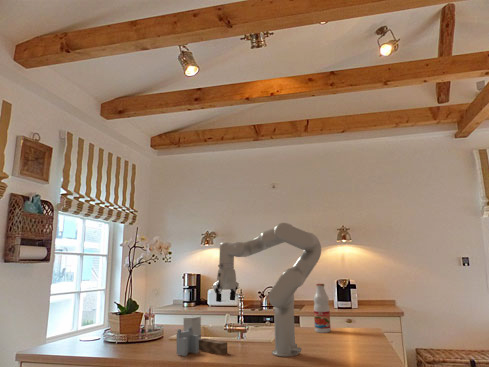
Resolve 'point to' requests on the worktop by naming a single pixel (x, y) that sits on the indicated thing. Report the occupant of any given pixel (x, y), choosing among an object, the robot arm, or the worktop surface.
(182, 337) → the grey stepped block
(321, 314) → the fruit juice
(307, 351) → the worktop surface
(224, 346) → the wooden block
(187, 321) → the skincare box
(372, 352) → the worktop surface
